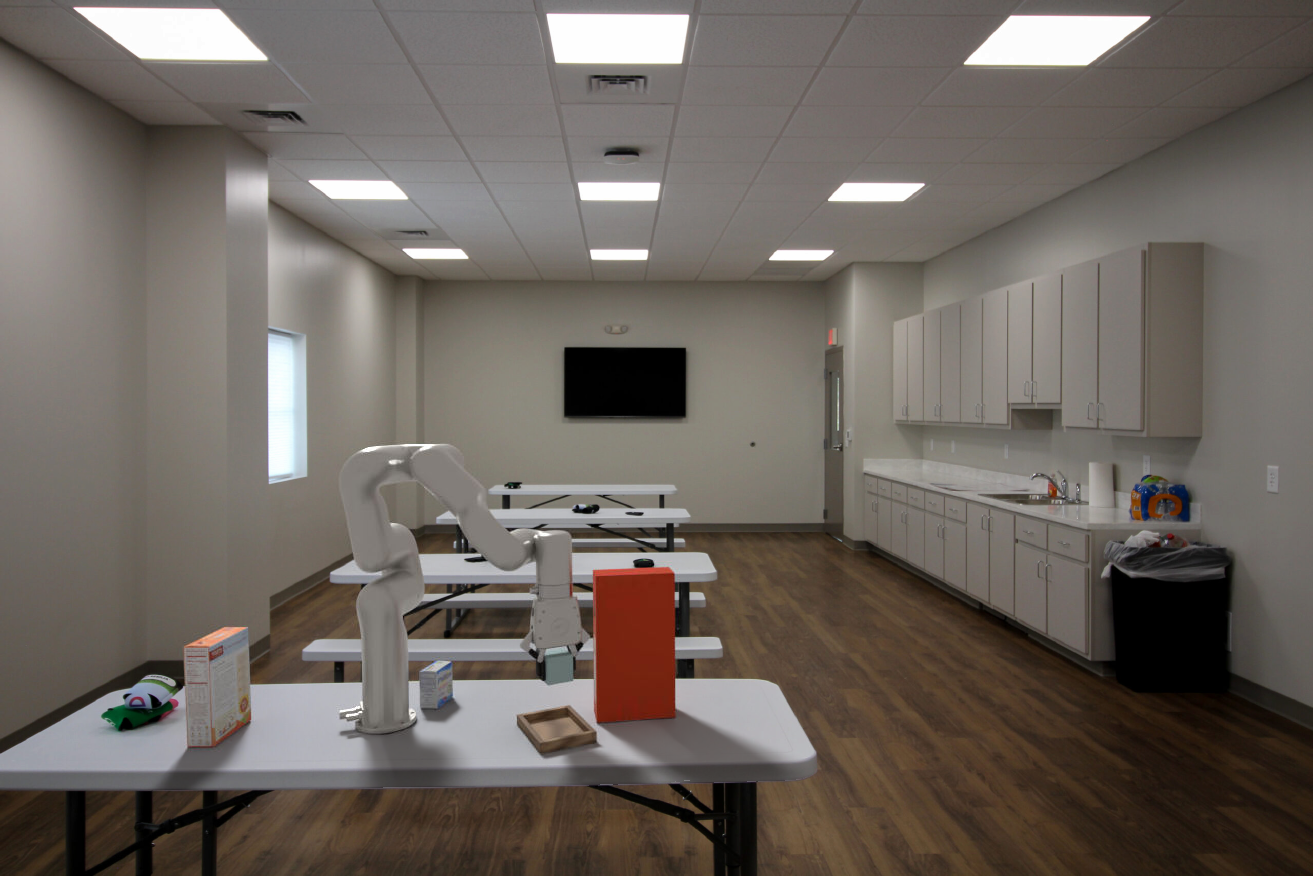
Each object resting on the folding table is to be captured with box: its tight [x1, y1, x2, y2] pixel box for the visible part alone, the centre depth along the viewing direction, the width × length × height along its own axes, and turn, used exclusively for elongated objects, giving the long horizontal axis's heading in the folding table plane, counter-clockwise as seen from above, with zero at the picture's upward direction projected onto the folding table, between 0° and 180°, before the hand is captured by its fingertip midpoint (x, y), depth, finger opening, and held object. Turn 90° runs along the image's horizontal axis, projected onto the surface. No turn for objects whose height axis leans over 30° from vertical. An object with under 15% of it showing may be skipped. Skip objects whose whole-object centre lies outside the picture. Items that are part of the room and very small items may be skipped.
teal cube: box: [543, 647, 574, 686], centre depth 160 cm, size 6×6×6 cm
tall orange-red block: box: [592, 566, 676, 724], centre depth 171 cm, size 8×17×32 cm, turn 100°
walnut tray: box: [516, 704, 598, 755], centre depth 161 cm, size 12×16×2 cm
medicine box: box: [418, 660, 454, 710], centre depth 178 cm, size 8×4×9 cm, turn 168°
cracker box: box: [182, 626, 252, 748], centre depth 161 cm, size 14×6×21 cm, turn 178°
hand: (556, 675), depth 160 cm, fingers closed on teal cube, 5 cm apart
